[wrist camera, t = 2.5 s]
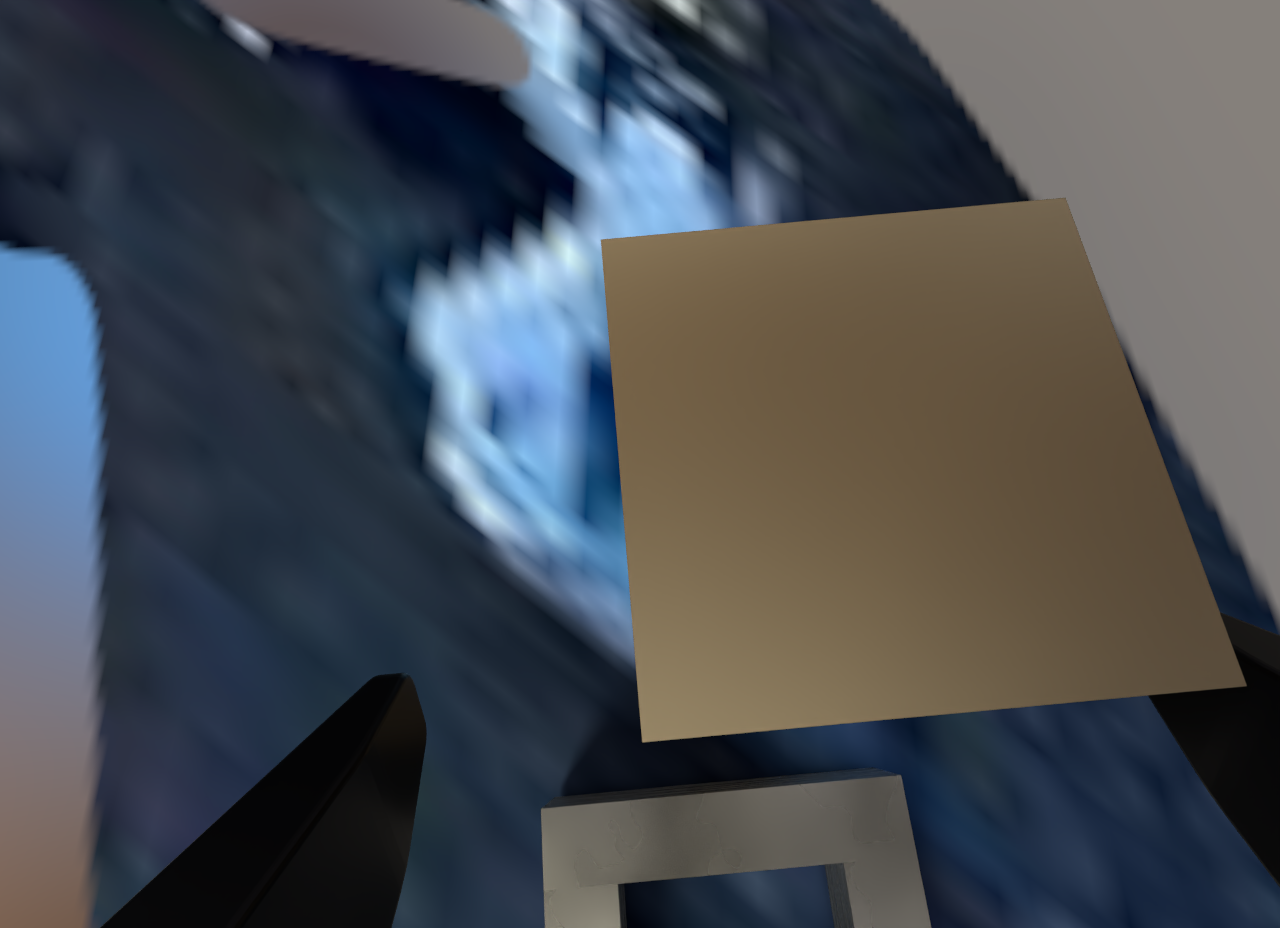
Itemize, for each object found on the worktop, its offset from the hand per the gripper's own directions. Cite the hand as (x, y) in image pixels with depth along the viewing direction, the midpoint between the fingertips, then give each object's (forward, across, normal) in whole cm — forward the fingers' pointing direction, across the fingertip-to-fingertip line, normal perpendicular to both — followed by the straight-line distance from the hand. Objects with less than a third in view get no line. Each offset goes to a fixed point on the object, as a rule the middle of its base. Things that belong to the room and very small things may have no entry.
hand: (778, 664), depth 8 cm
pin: (+7, 0, +6) cm, 9 cm away
